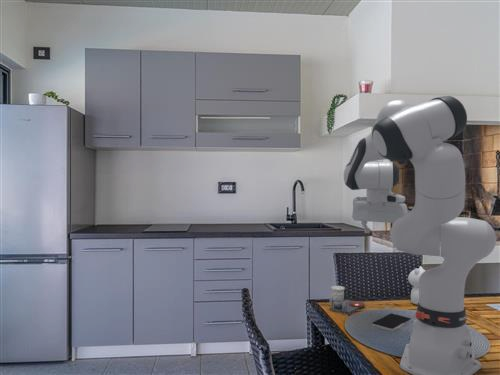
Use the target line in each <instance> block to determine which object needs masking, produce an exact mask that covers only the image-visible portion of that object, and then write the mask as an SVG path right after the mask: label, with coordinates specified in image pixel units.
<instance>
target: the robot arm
mask: <svg viewBox="0 0 500 375" xmlns="http://www.w3.org/2000/svg"><path fill="white" fill-rule="evenodd" d="M467 121H468V114H467V111H466V108H465V106H464V105H463V103H462V102H461V101H460V100H459V99H457V98H456V97H454V96H451V95H445V96H438V97H434V98H432V99H430V100H427V101H424V102H421V103H417V104H415V105H413V104H412V103H410V102H409V101H407V100H404V99H392V100H390V101H388V102H386V103H385V104H384V105H383V106H382V107H381V109H380V111H379V113H378V114H377V117H376V119H375V122H374V125H373V127H372V130H371V132H370V133H369V134H368V135H366V136H365V137H363V138H361V139H360V140H359V141H358V142H357V144H356V146H355V149H354V151H353V153H352V156H351V157H350V160H349V162H348V163H347V165H345V168H344V171H343V181H344V184H345V186H346V187H348V188H349V189H351V191H357V190H366V196H356V197H355V198H354V199H353V200H352V206H353V208H352V215H351V216H352V217H351V218H352V219H353V221H355V222H360V224H361V225H362V227H363V230H364V232H363V233H365V234H370V233H371V228H370V227H368V225H367V224H368V222H372V223H388V224H391V228H390V229H389V230H388V232H389V233H388V235H389V236H390V241H391V243H392V245H393V247H394V248H395V249H396V250H397V251H399V252H403V253H407V254H411V255H414V256H430V257H440V258H443V261H442V263H441V264H439V265H438V266H435V267H431V268H429V269H427V270H425V272H423V273H422V274H421V276H420V278H419V303H418V305H416V306H417V307H416V311H415V314H414V315H415V319H414V320H413V327H412V330H411V336H410V337H409V343H406V344H405V347H404V350H403V354H402V356H401V360H400V363H399V368H400V369H401V370H403V371H405V372H406V373H409V374H410V375H473V374H476V373H477V372H478V371H479V370H481V369H482V363H481V361H479V360H477V359H475V351H474V336H473V332H472V331H471V330H470V329H469V328H468V327H467V325H466V324H467V311H466V308H465V288H466V280H467V277H468V275H469V273H470V271H471V270H472V269H473V268H474V267H475V265H476V264H477V263H479V262H480V261H481V260H483V259H485V258H486V257H488V256H489V255H490V254H491V253H492V252H493V251H494V250H495V247H496V244H497V235H496V232H495V229H494V228H493V227H492V225H490V223H488V221H486V220H482V219H477V218H472V217H463V216H462V217H461V216H460V214H461V213H462V212H463V210H464V208H465V203H466V202H465V201H466V200H465V199H466V170H465V162H464V159H463V156H462V155H463V154H462V152H461V151H460V150H459V148H458V147H457V146H455V145H454V144H451V143H448V142H445V141H446V140H449V139H453V138H455V137H456V136H458V135H459V134H460V133H462V132H463V131H464V130H465V129H466V127H467V123H468V122H467ZM409 161H410V163H411V164H412V165H413V168H414V189H415V193H414V194H415V198H414V199H415V200H414V206H413V207H412V209H411V210H410V211H409V210H408V206H407V204H406V203H405V202H406V196H404V195H402V194H398V193H395V192H392V188H395V187H396V186H397V185H398V184H399V183H400V166H407V165H408V164H409ZM396 163H397V164H399V165H400V166H398V165H397V164H396Z"/></svg>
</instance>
